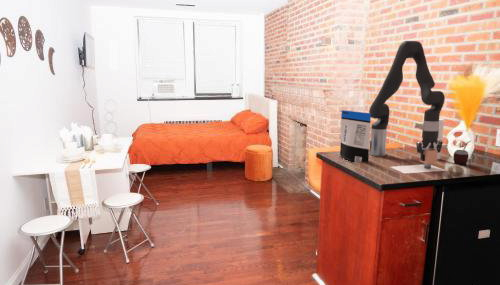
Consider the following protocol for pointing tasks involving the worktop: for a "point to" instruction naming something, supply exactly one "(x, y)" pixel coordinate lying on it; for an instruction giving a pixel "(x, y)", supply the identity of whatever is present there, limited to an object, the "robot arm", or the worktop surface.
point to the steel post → (427, 166)
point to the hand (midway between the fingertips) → (428, 160)
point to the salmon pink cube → (430, 156)
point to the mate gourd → (461, 156)
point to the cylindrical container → (440, 135)
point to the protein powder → (355, 136)
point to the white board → (416, 169)
